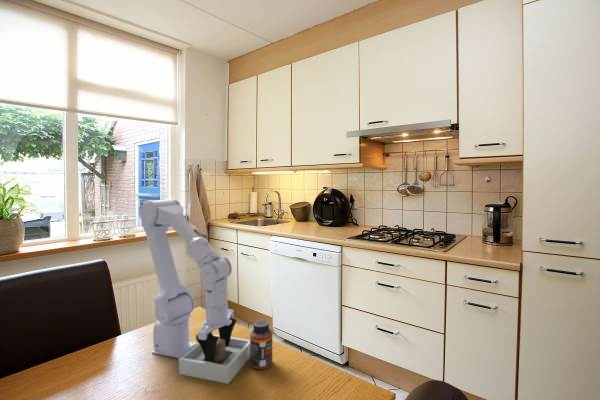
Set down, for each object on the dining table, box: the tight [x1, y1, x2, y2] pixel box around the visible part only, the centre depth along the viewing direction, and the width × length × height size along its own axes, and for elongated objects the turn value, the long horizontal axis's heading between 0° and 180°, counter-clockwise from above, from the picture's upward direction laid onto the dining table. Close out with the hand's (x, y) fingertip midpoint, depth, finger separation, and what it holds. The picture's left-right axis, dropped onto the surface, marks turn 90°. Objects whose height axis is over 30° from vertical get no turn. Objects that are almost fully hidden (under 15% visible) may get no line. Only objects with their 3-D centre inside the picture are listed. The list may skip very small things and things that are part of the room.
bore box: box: [178, 333, 250, 385], centre depth 87 cm, size 14×14×4 cm
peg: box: [212, 339, 227, 364], centre depth 87 cm, size 4×4×6 cm
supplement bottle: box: [249, 320, 273, 371], centre depth 87 cm, size 6×6×11 cm
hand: (217, 353), depth 87 cm, fingers open, 7 cm apart
